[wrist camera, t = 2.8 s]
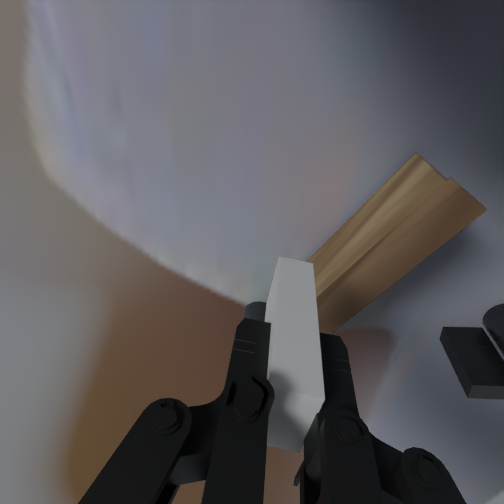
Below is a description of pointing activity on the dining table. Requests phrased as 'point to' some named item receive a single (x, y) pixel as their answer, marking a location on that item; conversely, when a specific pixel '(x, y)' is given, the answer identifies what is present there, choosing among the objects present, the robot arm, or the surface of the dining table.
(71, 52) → the dining table surface
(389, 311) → the dining table surface
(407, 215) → the brown wooden board
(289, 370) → the robot arm
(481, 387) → the post
